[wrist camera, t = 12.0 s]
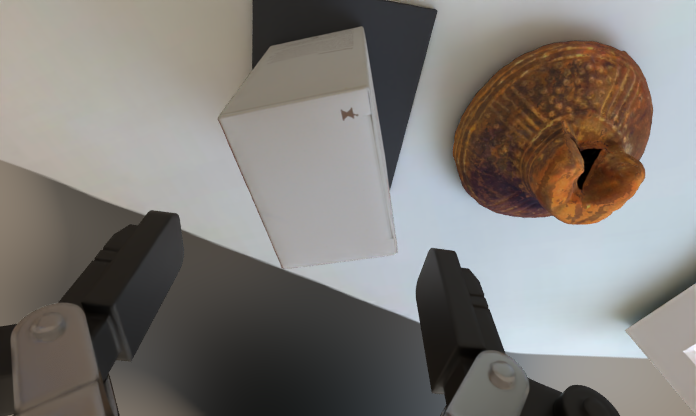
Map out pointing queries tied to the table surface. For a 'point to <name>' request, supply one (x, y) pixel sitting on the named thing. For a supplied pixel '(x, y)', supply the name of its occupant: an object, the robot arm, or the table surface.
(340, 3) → the coaster
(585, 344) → the table surface
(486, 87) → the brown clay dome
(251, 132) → the small box
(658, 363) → the bracket
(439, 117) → the table surface
